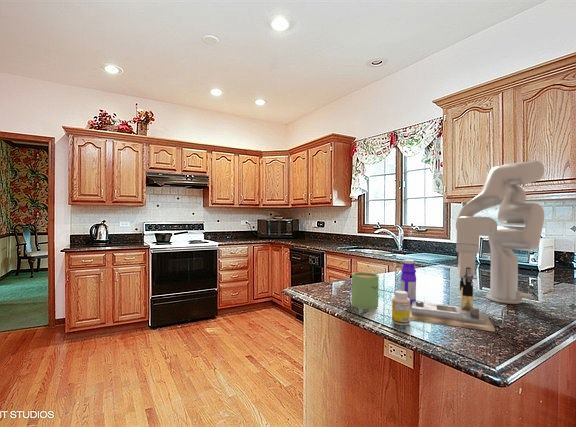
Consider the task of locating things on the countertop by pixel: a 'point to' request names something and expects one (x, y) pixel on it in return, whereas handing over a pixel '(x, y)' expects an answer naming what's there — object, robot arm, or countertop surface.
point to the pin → (466, 301)
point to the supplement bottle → (401, 308)
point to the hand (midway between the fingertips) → (465, 293)
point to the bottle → (409, 279)
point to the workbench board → (454, 322)
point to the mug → (365, 290)
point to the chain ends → (447, 312)
